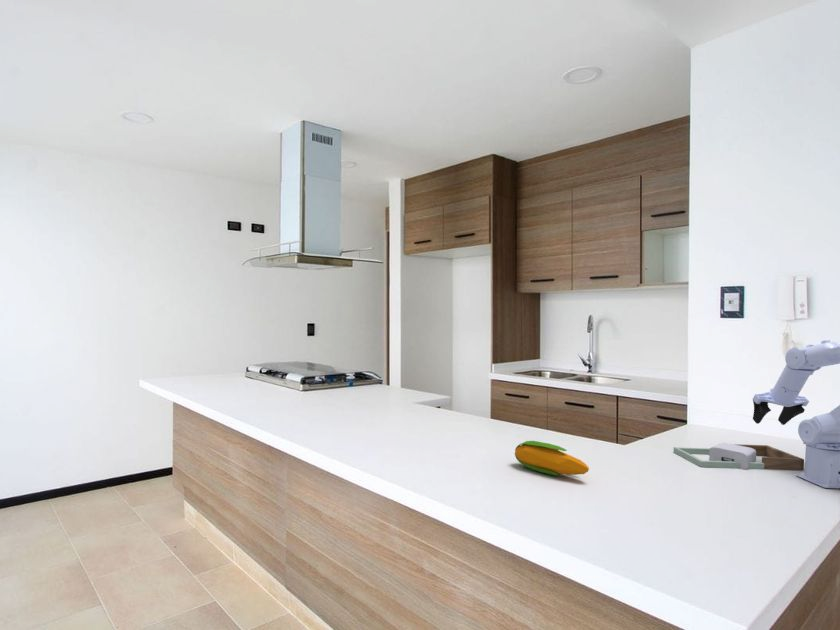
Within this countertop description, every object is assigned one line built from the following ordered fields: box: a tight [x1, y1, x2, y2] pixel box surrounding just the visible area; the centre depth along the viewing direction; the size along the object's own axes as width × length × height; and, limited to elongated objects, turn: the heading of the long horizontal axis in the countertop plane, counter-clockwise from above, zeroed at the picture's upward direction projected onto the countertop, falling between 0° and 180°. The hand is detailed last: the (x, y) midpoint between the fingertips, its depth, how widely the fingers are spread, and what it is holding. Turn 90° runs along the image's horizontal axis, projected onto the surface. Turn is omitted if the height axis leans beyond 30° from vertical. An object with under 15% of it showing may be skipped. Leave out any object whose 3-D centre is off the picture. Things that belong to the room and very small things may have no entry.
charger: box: [708, 442, 757, 470], centre depth 144 cm, size 5×9×15 cm
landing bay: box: [673, 446, 765, 470], centre depth 143 cm, size 14×18×2 cm
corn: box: [514, 440, 590, 477], centre depth 126 cm, size 7×8×20 cm
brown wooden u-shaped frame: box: [733, 443, 805, 471], centre depth 144 cm, size 14×11×3 cm
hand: (768, 421), depth 146 cm, fingers open, 7 cm apart
